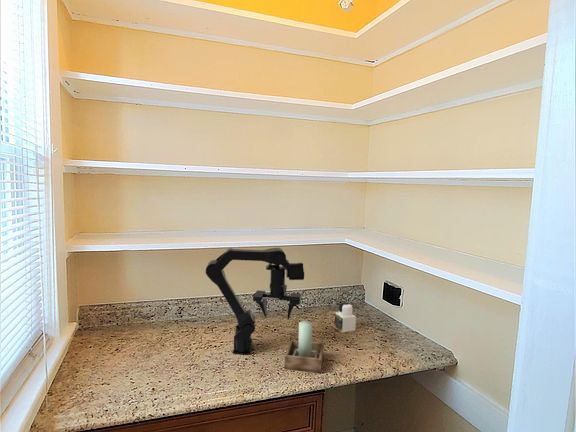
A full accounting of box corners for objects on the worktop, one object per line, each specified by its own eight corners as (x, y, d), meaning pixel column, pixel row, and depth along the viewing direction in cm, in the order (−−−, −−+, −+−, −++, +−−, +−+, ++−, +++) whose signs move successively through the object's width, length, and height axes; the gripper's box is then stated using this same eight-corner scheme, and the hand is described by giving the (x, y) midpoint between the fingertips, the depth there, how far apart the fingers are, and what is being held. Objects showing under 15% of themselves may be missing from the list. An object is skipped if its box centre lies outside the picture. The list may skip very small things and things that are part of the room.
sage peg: (295, 359, 131) (296, 323, 130) (303, 354, 135) (304, 319, 134) (306, 364, 128) (307, 327, 127) (313, 358, 132) (315, 323, 130)
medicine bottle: (334, 326, 164) (335, 302, 163) (347, 324, 166) (348, 300, 165) (341, 333, 157) (342, 307, 156) (355, 331, 160) (356, 305, 159)
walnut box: (284, 369, 126) (284, 355, 126) (290, 351, 139) (290, 339, 139) (320, 373, 124) (321, 359, 123) (323, 355, 137) (323, 343, 136)
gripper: (303, 276, 144) (302, 312, 146) (259, 273, 148) (259, 309, 149) (299, 284, 133) (298, 323, 135) (252, 280, 137) (252, 319, 138)
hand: (277, 318), depth 140 cm, fingers open, 9 cm apart
